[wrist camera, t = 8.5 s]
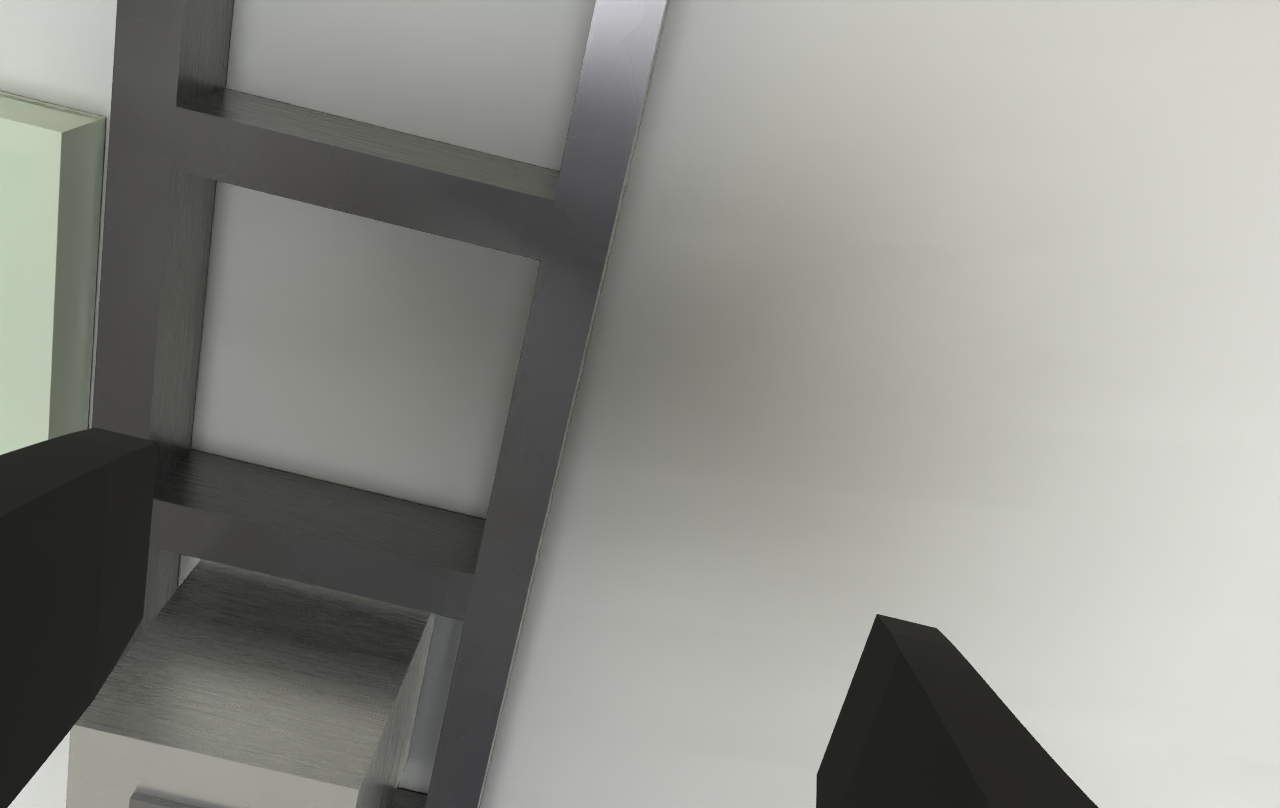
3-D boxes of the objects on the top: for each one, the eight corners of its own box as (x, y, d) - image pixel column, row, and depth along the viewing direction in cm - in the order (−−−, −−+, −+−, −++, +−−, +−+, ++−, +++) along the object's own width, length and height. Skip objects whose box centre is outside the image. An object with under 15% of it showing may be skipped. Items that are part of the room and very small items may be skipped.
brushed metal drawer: (407, 759, 26) (318, 1001, 20) (201, 712, 26) (53, 942, 20) (441, 585, 24) (355, 797, 18) (221, 533, 24) (65, 730, 18)
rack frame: (471, 841, 26) (452, 912, 25) (114, 759, 26) (68, 824, 24) (731, -264, 18) (732, -283, 16) (204, -403, 18) (143, -440, 16)
